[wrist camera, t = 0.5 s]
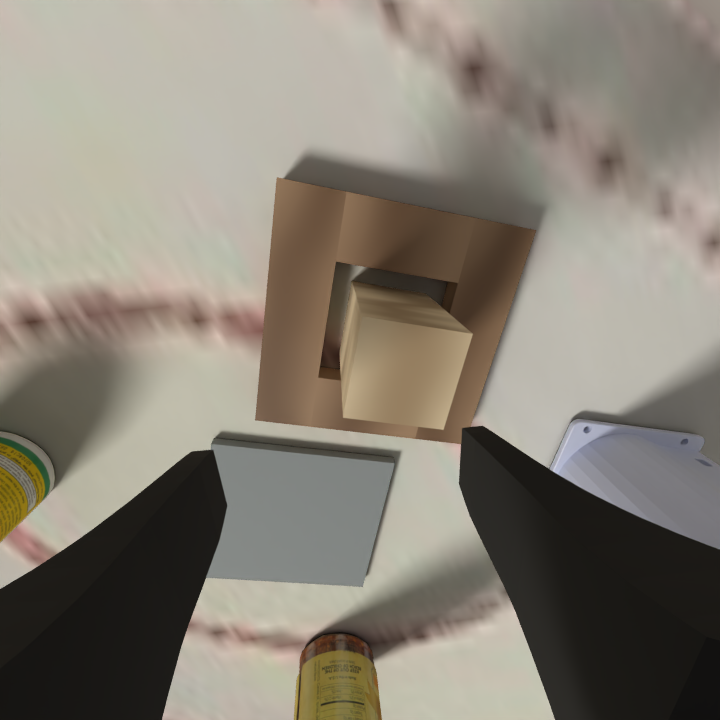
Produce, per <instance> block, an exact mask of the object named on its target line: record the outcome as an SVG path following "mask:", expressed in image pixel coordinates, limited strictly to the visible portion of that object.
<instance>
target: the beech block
mask: <svg viewBox="0 0 720 720" xmlns="http://www.w3.org/2000/svg"><path fill="white" fill-rule="evenodd" d="M472 335H473V334H472V333H471V332H470V331H469V330H468V329H467V328H465V327H464V326H463V325H462V324H461V323H460V322H458V321H457V320H456V319H455V318H454V317H453V316H451V315H450V314H449V313H448V312H447V311H446V310H444V309H443V308H442V307H441V306H440V305H439V304H437V303H436V302H435V301H434V300H433V299H432V298H430V297H429V296H428V295H427V294H426V293H420V292H414V291H408V290H402V289H397V288H391V287H385V286H379V285H373V284H367V283H362V282H356V281H352V282H351V288H350V294H349V300H348V306H347V311H346V317H345V323H344V329H343V335H342V341H341V346H340V352H339V353H340V371H341V390H342V408H343V418H349V419H358V420H366V421H374V422H383V423H391V424H399V425H408V426H416V427H424V428H433V429H441V430H444V426H445V423H446V420H447V417H448V413H449V410H450V407H451V404H452V400H453V397H454V394H455V391H456V387H457V384H458V381H459V378H460V374H461V371H462V368H463V365H464V361H465V358H466V355H467V351H468V348H469V345H470V342H471V338H472Z"/></svg>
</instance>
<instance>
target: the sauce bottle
mask: <svg viewBox="0 0 720 720" xmlns="http://www.w3.org/2000/svg"><path fill="white" fill-rule="evenodd" d="M299 668H300V670H299V675H298V677H297V683H296V696H295V710H294V720H382V717H381V708H380V700H379V691H378V682H377V673H376V669H375V666H374V662H373V654H372V651H371V650H370V647H369V646H368V644H367V643H366V642H363V641H362V640H361V639H359V638H358V637H356V636H352V635H349V634H343V633H342V634H328V635H322V636H321V637H319V638H317V639H316V640H315V641H313V642H312V643H311V644H309V645H308V646H307V647H306V648H305V649H304V650H303V651H302V654H301V657H300V667H299Z"/></svg>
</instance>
